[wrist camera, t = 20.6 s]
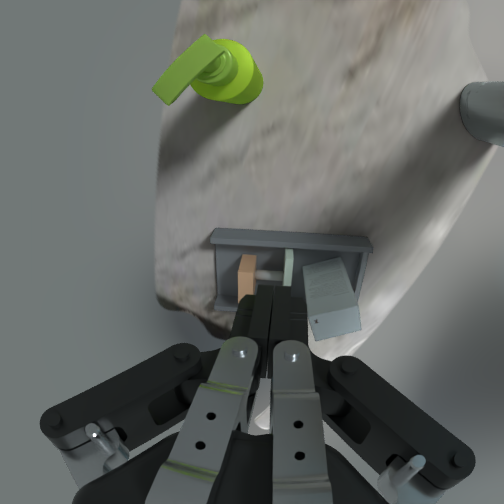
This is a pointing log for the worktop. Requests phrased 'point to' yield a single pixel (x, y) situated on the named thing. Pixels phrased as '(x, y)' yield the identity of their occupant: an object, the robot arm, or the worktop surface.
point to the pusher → (262, 273)
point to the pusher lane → (272, 258)
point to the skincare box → (330, 299)
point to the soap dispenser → (212, 73)
